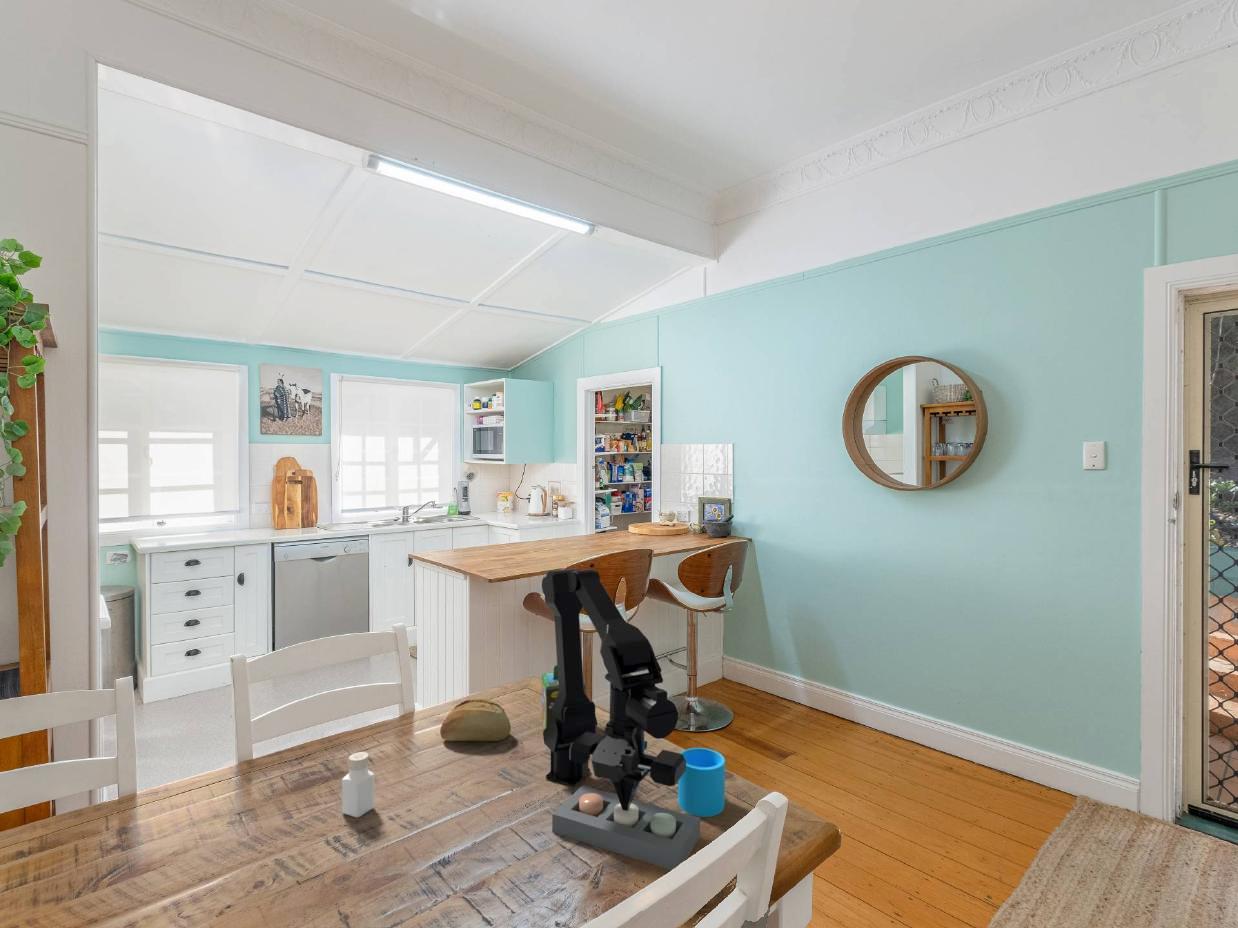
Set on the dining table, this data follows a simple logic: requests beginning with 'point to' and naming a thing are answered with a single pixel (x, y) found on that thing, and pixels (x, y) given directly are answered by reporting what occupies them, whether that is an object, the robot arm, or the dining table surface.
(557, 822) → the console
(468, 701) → the bread roll
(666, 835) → the sage button
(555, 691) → the chalk box
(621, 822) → the cream button
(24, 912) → the dining table surface
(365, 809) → the pepper shaker
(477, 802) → the dining table surface
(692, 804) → the mug
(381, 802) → the dining table surface
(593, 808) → the terracotta button
